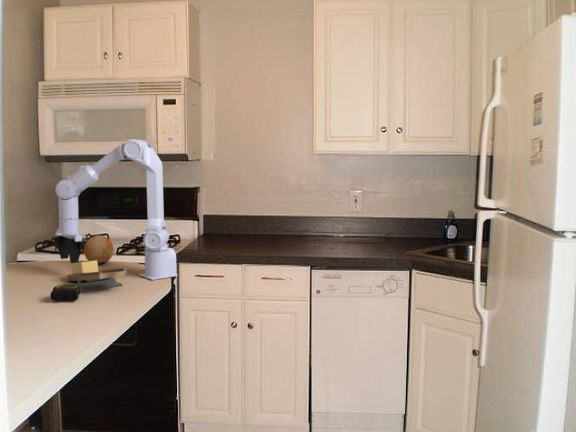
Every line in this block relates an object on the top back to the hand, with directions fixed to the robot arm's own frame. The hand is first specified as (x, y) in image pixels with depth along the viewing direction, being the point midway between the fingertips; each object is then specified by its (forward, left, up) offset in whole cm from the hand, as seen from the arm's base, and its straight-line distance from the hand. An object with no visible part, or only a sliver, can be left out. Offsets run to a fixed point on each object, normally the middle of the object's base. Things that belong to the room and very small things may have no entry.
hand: (69, 260), depth 170 cm
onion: (-14, -9, -5) cm, 17 cm away
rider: (0, +12, -2) cm, 12 cm away
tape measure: (+12, +28, -5) cm, 31 cm away
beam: (0, +19, -2) cm, 19 cm away
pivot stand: (0, +19, -5) cm, 20 cm away
